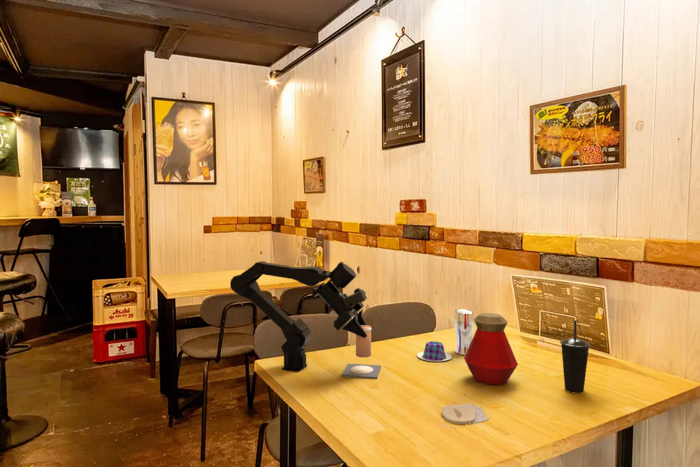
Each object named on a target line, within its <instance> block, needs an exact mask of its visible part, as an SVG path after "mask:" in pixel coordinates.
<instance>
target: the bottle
mask: <svg viewBox="0 0 700 467" xmlns="http://www.w3.org/2000/svg"><path fill="white" fill-rule="evenodd" d="M474 324H475V326H476V330H475V332H474V333H473V335H472V341H471V343H470V346H469V348H468V350H467V352H466V355H464V357H463V358H464V361H465V364H466V366H467V367H468V369H469V371H470V374H471V376H472V378H473V379H474V381H475V382H477V383H480V384H483V385H486V386H503V384H504V385H506V384H507V382H508V381H509V380H510V378H511V376H512V375H513V373H514V372H515V370H516V368H517V367H518V365H519V363H518V361H517V359H516V357H515V354H514V352H513V350H512V347H511V344H510V343H509V339H508V337H507V334H506V333H505V329H506V327H507V324H508V320H506V319H505V317H503V315H502V314H499V313H493V312H482V313H479V314H478V315H477V316H475V317H474Z"/></svg>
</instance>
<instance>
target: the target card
mask: <svg viewBox="0 0 700 467" xmlns="http://www.w3.org/2000/svg"><path fill="white" fill-rule="evenodd" d="M381 368H382V365H381V364H364V363H363V364H362V363H361V364H360V363H347V365H346V367H345V368H344V370H343V371H342V373H341V378H356V379H358V378H359V379H374V380H377V379H378V376H379V373H380V372H381Z"/></svg>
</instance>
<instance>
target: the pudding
mask: <svg viewBox="0 0 700 467" xmlns="http://www.w3.org/2000/svg"><path fill="white" fill-rule="evenodd" d="M416 356H417V357H418V358H419V359H420V360H424V361H427V362H428V361H429V362H438V361H441V362H444V361H448V360H451V359H452V357H453V356H452V355H451V354H450V353H448V352H446V351H445V347H444V344H443V343H442V342H440V341H433V340H432V341H431V340H430V341H427V342H426V344H425V346H424V349H423V351H420V352H418V353H417V355H416ZM443 359H444V360H443Z"/></svg>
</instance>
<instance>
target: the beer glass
mask: <svg viewBox="0 0 700 467" xmlns="http://www.w3.org/2000/svg"><path fill="white" fill-rule="evenodd" d="M474 318H475V316H474V311H473V310H470V309H456V310H454V318H453V327H454V334H455V348H454V352H455V353H456V354H457V353H458V355H463V356H465V355H466V352H467V350H468V348H469V346H470V343H471V341H472V339H473V336H474V328H475V327H474V326H475V321H474Z"/></svg>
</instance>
